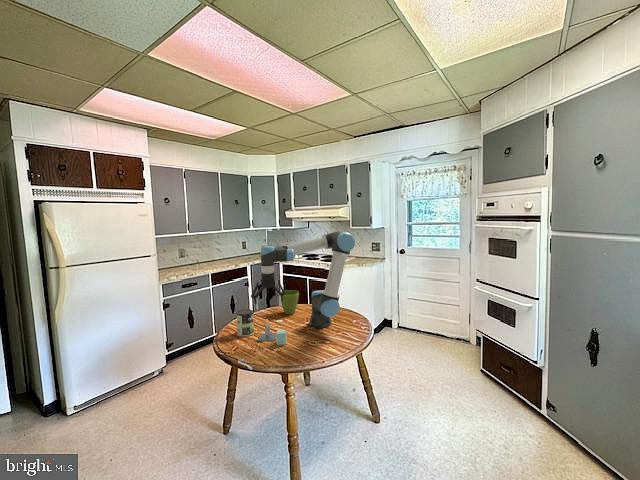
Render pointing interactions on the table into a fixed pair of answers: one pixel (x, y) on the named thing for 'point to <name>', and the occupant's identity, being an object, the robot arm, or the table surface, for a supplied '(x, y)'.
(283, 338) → the mint green block
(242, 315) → the coffee can
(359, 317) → the table surface
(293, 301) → the flower pot
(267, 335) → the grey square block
